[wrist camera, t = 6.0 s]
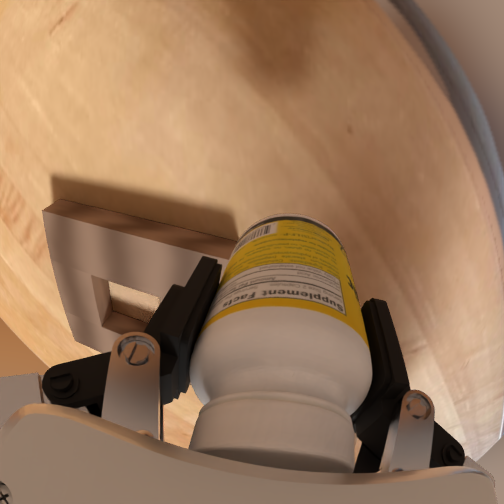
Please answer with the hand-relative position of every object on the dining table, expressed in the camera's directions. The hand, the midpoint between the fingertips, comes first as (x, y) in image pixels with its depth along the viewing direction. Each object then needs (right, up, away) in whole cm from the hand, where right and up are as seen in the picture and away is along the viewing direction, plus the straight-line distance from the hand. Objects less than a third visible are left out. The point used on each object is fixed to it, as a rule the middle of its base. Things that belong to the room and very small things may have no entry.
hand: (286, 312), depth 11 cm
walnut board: (-14, -3, +20) cm, 24 cm away
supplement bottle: (+1, +2, +3) cm, 4 cm away
